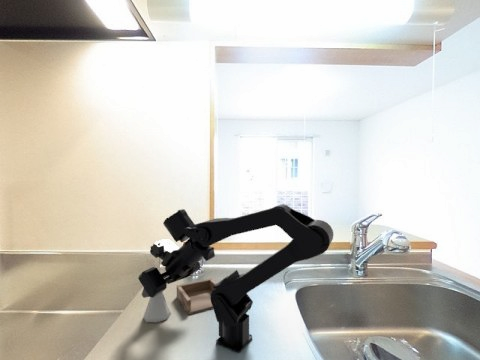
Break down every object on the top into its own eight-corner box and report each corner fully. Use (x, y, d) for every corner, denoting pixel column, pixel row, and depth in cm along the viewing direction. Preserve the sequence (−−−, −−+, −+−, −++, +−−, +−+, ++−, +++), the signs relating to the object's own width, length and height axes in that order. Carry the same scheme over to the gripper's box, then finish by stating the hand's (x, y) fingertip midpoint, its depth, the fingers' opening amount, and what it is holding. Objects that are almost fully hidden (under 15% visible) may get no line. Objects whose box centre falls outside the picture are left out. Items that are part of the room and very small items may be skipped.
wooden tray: (227, 304, 78) (227, 292, 78) (188, 314, 73) (188, 302, 72) (211, 288, 89) (211, 278, 89) (176, 296, 83) (176, 285, 83)
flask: (142, 325, 68) (141, 287, 67) (144, 311, 75) (144, 276, 74) (170, 321, 70) (170, 284, 69) (170, 307, 77) (170, 274, 76)
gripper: (191, 224, 78) (163, 255, 83) (144, 239, 61) (111, 277, 66) (214, 254, 74) (183, 284, 80) (170, 278, 58) (134, 315, 63)
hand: (155, 288), depth 72 cm, fingers open, 9 cm apart
